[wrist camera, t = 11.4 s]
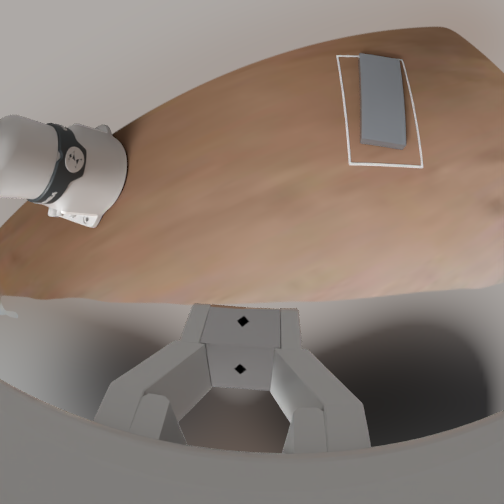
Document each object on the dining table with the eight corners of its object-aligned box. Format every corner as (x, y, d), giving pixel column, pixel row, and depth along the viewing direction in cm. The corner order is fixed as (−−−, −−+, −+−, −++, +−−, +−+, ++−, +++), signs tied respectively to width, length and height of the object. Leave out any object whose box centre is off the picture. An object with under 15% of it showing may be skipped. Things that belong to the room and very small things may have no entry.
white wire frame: (348, 165, 35) (336, 55, 34) (348, 165, 35) (336, 57, 34) (423, 168, 32) (402, 59, 31) (422, 169, 33) (402, 61, 32)
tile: (361, 138, 32) (359, 53, 31) (359, 144, 34) (358, 62, 33) (406, 145, 31) (399, 59, 30) (401, 150, 33) (396, 68, 32)
